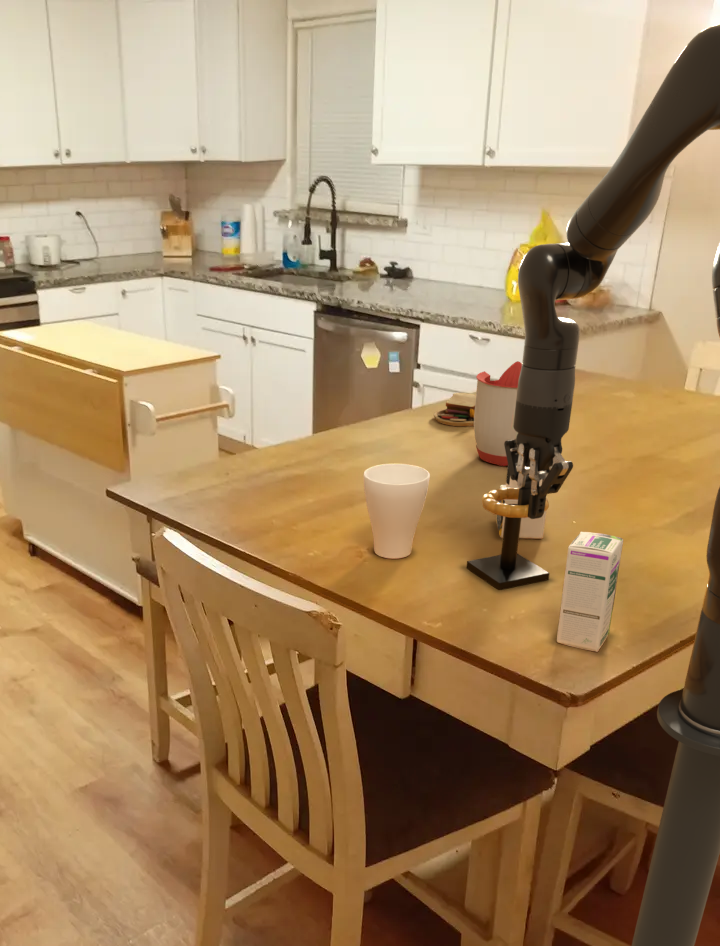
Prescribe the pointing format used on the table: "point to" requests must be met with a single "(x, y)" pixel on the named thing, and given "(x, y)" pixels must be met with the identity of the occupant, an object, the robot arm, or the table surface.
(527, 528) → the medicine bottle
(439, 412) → the toy sandwich meal
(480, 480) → the table surface
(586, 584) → the syrup box
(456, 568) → the table surface
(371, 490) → the cup
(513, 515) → the ring
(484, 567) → the holder
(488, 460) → the citrus juicer
